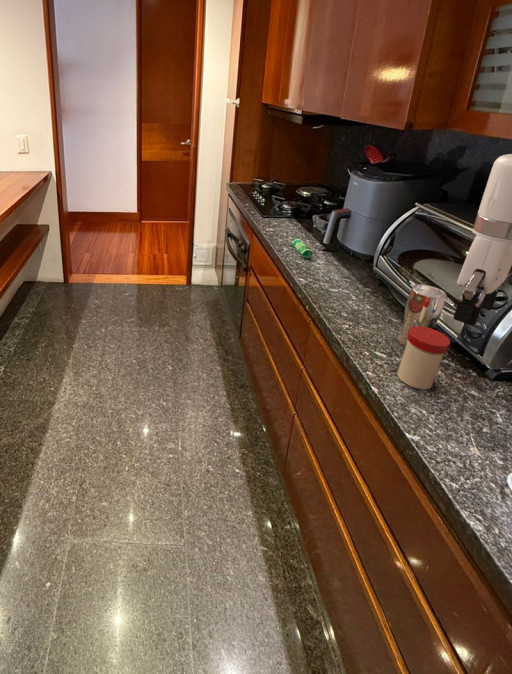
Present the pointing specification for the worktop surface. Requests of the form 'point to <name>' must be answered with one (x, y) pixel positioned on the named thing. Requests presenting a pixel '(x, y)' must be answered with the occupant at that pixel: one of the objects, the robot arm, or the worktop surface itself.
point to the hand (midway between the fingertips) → (472, 314)
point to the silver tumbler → (422, 309)
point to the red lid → (428, 340)
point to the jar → (419, 367)
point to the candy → (301, 248)
